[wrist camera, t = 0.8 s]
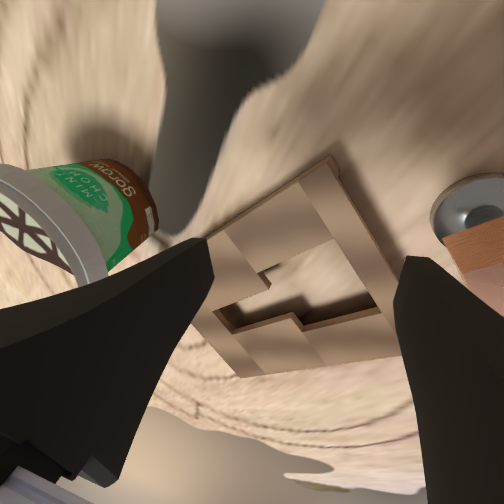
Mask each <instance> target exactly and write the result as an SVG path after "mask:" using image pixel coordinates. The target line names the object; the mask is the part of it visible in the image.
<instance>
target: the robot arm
mask: <svg viewBox="0 0 504 504" xmlns="http://www.w3.org/2000/svg"><path fill="white" fill-rule="evenodd" d="M214 279H215V276H214V272H213V267H212V262H211V258H210V253H209V248H208V243H207V239H205V238H191V239H188V240H185V241H183V242H181V243H179V244H177V245H175V246H173V247H171V248H169V249H166V250H164V251H162V252H160V253H158V254H156V255H154V256H152V257H150V258H148V259H146V260H144V261H142V262H140V263H138V264H135V265H133V266H131V267H129V268H127V269H125V270H122V271H120V272H118V273H116V274H113V275H111V276H108V277H106V278H103V279H101V280H98V281H95V282H93V283H90V284H87V285H84V286H81V287H78V288H75V289H72V290H69V291H66V292H63V293H59V294H56V295H53V296H50V297H46V298H43V299H39V300H35V301H32V302H28V303H24V304H20V305H16V306H12V307H8V308H3V309H0V504H93V503H91V502H89V501H87V500H85V499H83V498H81V497H79V496H77V495H75V494H73V493H71V492H69V491H67V490H65V489H63V488H61V487H59V486H57V485H55V484H56V482H57V481H58V479H59V478H60V477H61V476H63V477H64V478H66V479H69V480H71V481H73V480H74V479H75V478H76V477H77V475H78V476H80V477H83V478H84V479H87V480H89V481H91V482H93V483H95V484H97V485H99V486H102V487H104V488H106V487H108V486H110V485H112V484H113V483H115V482H116V481H117V480H118V479H119V476H120V474H121V471H122V468H123V465H124V462H125V460H126V457H127V455H128V452H129V449H130V447H131V444H132V442H133V439H134V436H135V434H136V431H137V429H138V427H139V424H140V422H141V419H142V417H143V415H144V412H145V410H146V408H147V405H148V403H149V401H150V398H151V396H152V394H153V392H154V390H155V388H156V385H157V383H158V381H159V379H160V377H161V375H162V373H163V371H164V369H165V367H166V365H167V363H168V361H169V359H170V357H171V354H172V353H173V351H174V349H175V347H176V346H177V344H178V342H179V341H180V339H181V337H182V336H183V334H184V333H185V331H186V330H187V328H188V326H189V325H190V323H191V322H192V320H193V318H194V317H195V315H196V314H197V312H198V310H199V309H200V307H201V306H202V304H203V302H204V301H205V299H206V297H207V295H208V293H209V291H210V288H211V286H212V284H213V281H214ZM393 311H394V321H395V329H396V333H397V337H398V341H399V345H400V350H401V354H402V357H403V361H404V365H405V369H406V373H407V377H408V381H409V385H410V389H411V393H412V397H413V401H414V406H415V411H416V417H417V424H418V430H419V437H420V444H421V451H422V459H423V467H424V474H425V482H426V489H427V499H428V504H504V317H503V316H502V315H500V314H499V313H498V312H496V311H495V310H494V309H492V308H491V307H490V306H488V305H487V304H486V303H485V302H483V301H482V300H481V299H480V298H478V297H477V296H476V295H475V294H473V293H472V292H471V291H470V290H468V289H467V288H466V287H465V286H463V285H462V284H461V283H460V282H459V281H457V280H456V279H455V278H454V277H453V276H451V275H450V274H449V273H448V272H447V271H445V270H444V269H443V268H442V267H441V266H439V265H438V264H437V263H436V262H434V261H433V260H432V259H430V258H429V257H418V256H407V257H406V260H405V263H404V266H403V270H402V273H401V276H400V280H399V283H398V286H397V289H396V293H395V296H394V299H393Z"/></svg>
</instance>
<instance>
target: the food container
mask: <svg viewBox="0 0 504 504" xmlns="http://www.w3.org/2000/svg"><path fill="white" fill-rule="evenodd" d="M158 222H159V219H158V214H157V209H156V205H155V203H154V200H153V198H152V196H151V194H150V192H149V190H148V189H147V187H146V186H145V185H144V183H143V182H142V180H141V179H140V178H139V177H138V176H137V175H136V174H135V173H134V172H133V171H132V170H130V169H129V168H128V167H126V166H125V165H123V164H121V163H119V162H117V161H113V160H109V159H102V160H95V161H88V162H81V163H74V164H67V165H60V166H53V167H46V168H39V169H32V170H23V169H21V168H18V167H15V166H12V165H7V164H0V231H1V232H3V233H4V234H5V235H6V236H7V237H8V238H9V239H10V240H11V241H13V242H14V243H15V244H16V245H17V246H18V247H20V248H21V249H22V250H24V251H25V252H27V253H30V254H32V255H34V256H36V257H38V258H41V259H43V260H46V261H48V262H50V263H52V264H54V265H56V266H59V267H61V268H62V269H64V270H66V271H67V272H69V273H71V274H72V275H74V277H75V279H76V282H77V285H78V287H81V286H84V285H87V284H90V283H93V282H95V281H98V280H101V279H103V278H106V277H108V272H109V271H110V270H111V269H112V268H113V267H114V266H116V265H117V264H118V263H119V262H120V261H121V260H123V259H124V258H125V257H126V256H127V255H128V254H130V253H131V252H132V251H133V250H134V249H136V248H137V247H138V246H139V245H140V244H141V243H143V242H144V241H145V240H146V239H147V238H148V237H150V236H151V235H152V234H153V233H154V232H155V231H157V230H158Z"/></svg>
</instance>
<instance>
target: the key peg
mask: <svg viewBox="0 0 504 504" xmlns="http://www.w3.org/2000/svg"><path fill="white" fill-rule="evenodd" d="M430 224H431V227H432V229H433V231H434V233H435V235H436V236H437V238H438V240H439V241H440V242H441V243H442V244H443V245H444V246H445V247H446V248H447V249H448V251H449V253H450V255H451V257H452V259H453V261H454V263H455V265H456V267H457V269H458V271H459V273H460V275H461V277H462V279H463V281H464V283H465V285H466V286H467V288H468V290H470V291H471V292H472V293H473V294H475V295H476V296H477V297H478V298H480V299H481V300H482V301H483V302H485V303H486V304H487V305H488V306H490V307H491V308H492V309H494V310H495V311H496V312H498V313H499V314H500V315H502V316H503V317H504V174H498V173H485V174H478V175H473V176H470V177H467V178H464V179H462V180H460V181H458V182H456V183H454V184H453V185H451V186H449V187H448V188H447V189H446V190H444V191H443V192H442V193H441V194H440V195H439V197H438V198H437V199H436V201H435V202H434V204H433V206H432V209H431V212H430Z"/></svg>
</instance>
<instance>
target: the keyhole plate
mask: <svg viewBox="0 0 504 504" xmlns="http://www.w3.org/2000/svg"><path fill="white" fill-rule="evenodd" d="M339 171H340V169H339V167H338V166H337V164H336V162H335V160H334V159H333V157H332V155H329V156H328V157H326V158H325V159H323V160H322V161H320V162H319V163H317V164H316V165H314V166H313V167H311V168H310V169H308V170H307V171H305V172H304V173H302V174H300V175H299V176H297V177H296V178H294V179H293V180H291V181H290V182H288V183H287V184H285V185H284V186H282V187H281V188H279V189H278V190H276V191H275V192H273V193H272V194H270V195H269V196H267V197H266V198H264V199H263V200H261V201H260V202H258V203H257V204H255V205H254V206H252V207H251V208H249V209H248V210H246V211H245V212H243V213H242V214H240V215H239V216H237V217H236V218H234V219H233V220H231V221H230V222H228V223H226V224H225V225H223V226H222V227H220V228H219V229H217V230H216V231H214V232H213V233H211V234H210V235H208V236H207V237H205V239H207V243H208V248H209V253H210V258H211V262H212V267H213V272H214V276H215V279H214V281H213V284H212V286H211V288H210V291H209V293H208V295H207V297H206V299H205V301H204V302H203V304H202V306H201V307H200V309H199V310H198V312H197V314H196V315H195V317H194V318H193V320H192V322H191V324H192V325H193V326H194V327H195V328H196V329H197V331H198V332H199V333H200V334H201V335H202V336H203V337H204V338H205V339H206V341H207V342H208V343H209V344H210V345H211V346H212V347H213V348H214V349H215V350H216V352H217V353H218V354H219V355H220V356H221V357H222V358H223V359H224V360H225V362H226V363H227V364H228V365H229V366H230V367H231V368H232V369H233V370H234V371H235V373H236V374H237V375H238V376H239V377H240V378H247V377H254V376H261V375H268V374H275V373H282V372H289V371H296V370H303V369H310V368H317V367H324V366H331V365H339V364H346V363H353V362H360V361H367V360H374V359H381V358H388V357H395V356H402V354H401V350H400V345H399V341H398V337H397V333H396V329H395V321H394V311H393V299H394V296H395V293H396V289H397V286H398V283H399V279H398V278H397V276H396V274H395V273H394V271H393V269H392V267H391V266H390V264H389V262H388V261H387V259H386V257H385V256H384V254H383V252H382V251H381V249H380V247H379V246H378V244H377V242H376V241H375V239H374V237H373V235H372V234H371V232H370V230H369V229H368V227H367V225H366V224H365V222H364V220H363V219H362V217H361V215H360V214H359V212H358V210H357V209H356V207H355V205H354V204H353V202H352V200H351V198H350V197H349V195H348V193H347V192H346V190H345V188H344V187H343V185H342V183H341V182H340V180H339V178H338V174H339ZM333 238H334V239H335V240H336V242H337V243H338V245H339V247H340V248H341V250H342V251H343V253H344V254H345V256H346V258H347V259H348V261H349V262H350V264H351V265H352V267H353V268H354V270H355V272H356V273H357V275H358V276H359V278H360V279H361V281H362V282H363V284H364V286H365V287H366V289H367V290H368V292H369V293H370V295H371V296H372V298H373V300H374V301H375V303H376V304H377V306H378V307H375V308H371V309H367V310H363V311H359V312H355V313H352V314H348V315H344V316H340V317H336V318H332V319H328V320H324V321H320V322H316V323H313V324H309V325H305V326H303V325H302V323H301V322H300V321H299V319H298V318H297V317H296V315H295V314H294V313H293V312H290V313H287V314H284V315H280V316H277V317H274V318H271V319H267V320H264V321H261V322H257V323H254V324H251V325H247V326H244V327H241V328H237V329H234V327H233V326H232V325H231V324H230V323H229V322H228V320H227V319H226V318H225V317H224V316H223V315H222V313H221V312H220V311H219V310H218V309H220V308H222V307H225V306H227V305H230V304H232V303H235V302H238V301H240V300H243V299H245V298H248V297H250V296H253V295H256V294H258V293H261V292H263V291H266V290H268V289H269V288H270V286H271V282H270V281H269V280H268V278H267V277H266V276H265V274H264V273H263V272H262V271H263V270H265V269H267V268H269V267H271V266H274V265H276V264H278V263H280V262H283V261H285V260H287V259H289V258H291V257H294V256H296V255H298V254H300V253H302V252H305V251H307V250H309V249H311V248H313V247H316V246H318V245H320V244H322V243H325V242H327V241H329V240H331V239H333Z"/></svg>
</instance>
